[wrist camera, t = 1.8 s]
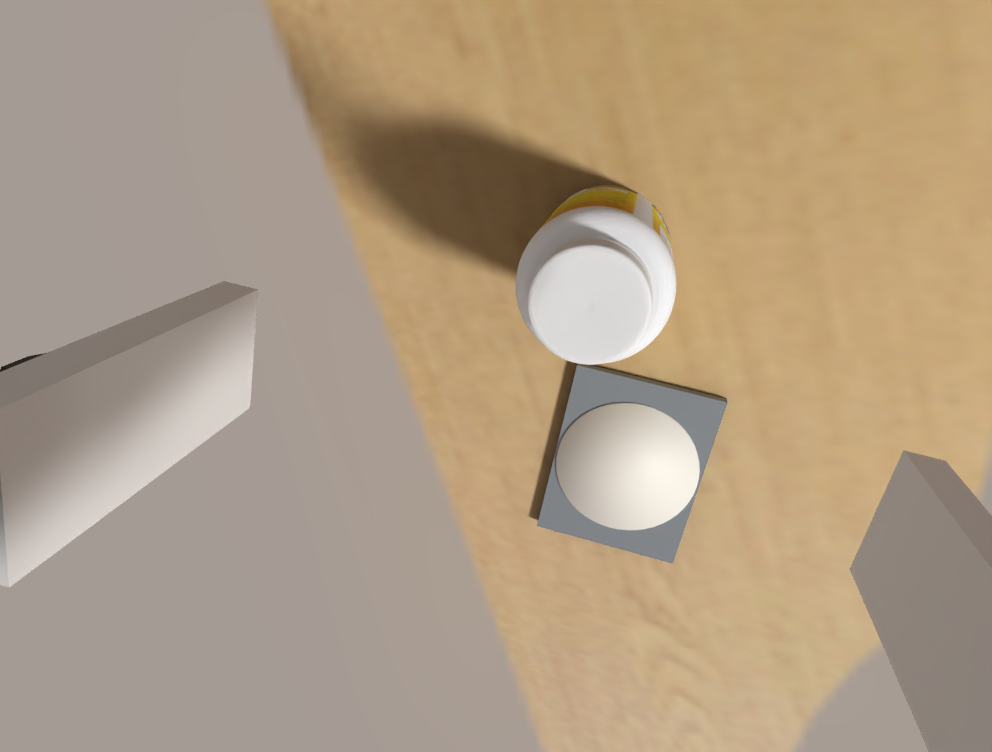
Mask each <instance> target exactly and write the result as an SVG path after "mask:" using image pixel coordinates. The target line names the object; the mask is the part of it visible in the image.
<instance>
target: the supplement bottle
mask: <svg viewBox="0 0 992 752" xmlns="http://www.w3.org/2000/svg"><path fill="white" fill-rule="evenodd" d="M675 294H676V273H675V267H674V260H673V253H672V247H671V241H670V237H669V232H668V229H667V226H666V224H665V221H664V219H663V217H662V216H661V214H660V213H659V211H658V210H657V209H656V207H655V206H654V205H653V204H652V203H651V202H650V201H649V200H648V199H646V198H645V197H644V196H642V195H641V194H639V193H637V192H635V191H633V190H630V189H628V188H624V187H620V186H613V185H600V186H593V187H590V188H587V189H584V190H581V191H579V192H577V193H575V194H574V195H572V196H570V197H569V198H568V199H566V200H565V201H564V202H563V203H562V204H561V205H560V206H559V207H558V208H557V209H556V210H555V211H554V212H553V214H552V215H551V216H550V217H549V218H548V219H547V220H546V222H545V223H544V224H543V225H542V226H541V227H540V229H539V230H538V231H537V232H536V233H535V235H534V236H533V237H532V239H531V240H530V242H529V243H528V245H527V246H526V248H525V250H524V252H523V254H522V257H521V259H520V262H519V266H518V269H517V275H516V297H517V302H518V306H519V310H520V312H521V315H522V318H523V320H524V322H525V323H526V325H527V327H528V328H529V330H530V331H531V333H532V334H533V335H534V336H535V337H536V338H537V339H538V340H539V341H540V342H541V343H542V344H543V345H544V346H545V347H546V348H548V349H549V350H550V351H551V352H552V353H554V354H555V355H557V356H559V357H561V358H563V359H565V360H567V361H570V362H574V363H578V364H586V365H596V364H603V363H610V362H615V361H619V360H622V359H625V358H627V357H630V356H631V355H633V354H635V353H637V352H639V351H640V350H642V349H643V348H645V347H646V346H647V345H648V344H650V343H651V342H652V341H653V340H654V339H655V338H656V337H657V335H658V334H659V333H660V332H661V330H662V329H663V327H664V326H665V324H666V322H667V320H668V318H669V316H670V314H671V311H672V308H673V305H674V300H675Z"/></svg>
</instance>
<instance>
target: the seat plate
mask: <svg viewBox="0 0 992 752" xmlns="http://www.w3.org/2000/svg"><path fill="white" fill-rule="evenodd" d="M726 405H727V399H726V398H722V397H718V396H714V395H710V394H706V393H702V392H698V391H694V390H690V389H686V388H682V387H678V386H674V385H670V384H666V383H662V382H658V381H654V380H650V379H646V378H642V377H638V376H634V375H630V374H626V373H622V372H618V371H613V370H609V369H605V368H601V367H597V366H593V365H586V364H577V367H576V371H575V375H574V379H573V383H572V387H571V391H570V395H569V399H568V403H567V408H566V412H565V416H564V420H563V424H562V428H561V432H560V436H559V440H558V444H557V448H556V452H555V456H554V460H553V464H552V468H551V472H550V476H549V480H548V484H547V488H546V492H545V496H544V500H543V504H542V508H541V512H540V516H539V520H538V524H537V526H539V527H543V528H546V529H550V530H554V531H557V532H561V533H564V534H568V535H572V536H575V537H579V538H583V539H586V540H590V541H593V542H597V543H601V544H604V545H608V546H612V547H615V548H619V549H622V550H626V551H630V552H633V553H637V554H640V555H644V556H648V557H651V558H655V559H659V560H662V561H666V562H669V563H673V561H674V558H675V555H676V552H677V549H678V546H679V543H680V540H681V537H682V534H683V531H684V528H685V525H686V522H687V520H688V517H689V514H690V511H691V508H692V505H693V502H694V499H695V496H696V493H697V490H698V487H699V484H700V481H701V478H702V476H703V473H704V470H705V467H706V464H707V461H708V458H709V455H710V452H711V449H712V446H713V443H714V440H715V437H716V434H717V432H718V429H719V426H720V423H721V420H722V417H723V414H724V411H725V408H726Z"/></svg>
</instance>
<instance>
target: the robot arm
mask: <svg viewBox="0 0 992 752" xmlns="http://www.w3.org/2000/svg"><path fill="white" fill-rule="evenodd" d="M257 296H258V289H253V288H249V287H245V286H241V285H237V284H233V283H229V282H225V281H223V282H221V283H219V284H216V285H214V286H211V287H209V288H206V289H204V290H201V291H199V292H196V293H194V294H191V295H189V296H186V297H184V298H182V299H179V300H177V301H174V302H172V303H169V304H167V305H164V306H162V307H159V308H157V309H154V310H152V311H149V312H147V313H145V314H142V315H140V316H137V317H135V318H132V319H130V320H127V321H125V322H122V323H120V324H117V325H115V326H112V327H110V328H108V329H105V330H103V331H100V332H98V333H95V334H93V335H90V336H88V337H85V338H83V339H80V340H78V341H76V342H73V343H70V344H68V345H66V346H63V347H61V348H58V349H56V350H53V351H51V352H48V353H44V354H39V355H34V356H28V357H26V358H23V359H21V360H18V361H15V362H13V363H10V364H8V365H5V366H3V367H1V370H0V585H3V586H6V587H10V586H12V585H13V584H14V583H15V582H17V581H18V580H20V579H21V578H22V577H24V576H25V575H26V574H28V573H29V572H30V571H32V570H33V569H34V568H36V567H37V566H39V565H40V564H41V563H43V562H44V561H45V560H46V559H48V558H49V557H51V556H52V555H53V554H55V553H56V552H57V551H59V550H60V549H61V548H63V547H64V546H65V545H67V544H68V543H69V542H70V541H72V540H73V539H74V538H76V537H77V536H79V535H80V534H81V533H83V532H84V531H85V530H87V529H88V528H89V527H91V526H92V525H93V524H95V523H96V522H97V521H99V520H100V519H101V518H103V517H104V516H105V515H107V514H108V513H109V512H111V511H112V510H114V509H115V508H116V507H117V506H119V505H120V504H122V503H123V502H124V501H126V500H127V499H128V498H129V497H131V496H132V495H134V494H135V493H136V492H137V491H139V490H140V489H142V488H143V487H144V486H146V485H147V484H148V483H150V482H151V481H152V480H154V479H155V478H156V477H158V476H159V475H160V474H162V473H163V472H164V471H165V470H167V469H168V468H170V467H171V466H172V465H174V464H175V463H176V462H178V461H179V460H180V459H182V458H183V457H184V456H186V455H187V454H188V453H190V452H191V451H192V450H194V449H195V448H196V447H198V446H199V445H201V444H202V443H203V442H205V441H206V440H207V439H208V438H210V437H211V436H213V435H214V434H215V433H217V432H218V431H219V430H221V429H222V428H223V427H225V426H226V425H227V424H229V423H230V422H231V421H233V420H234V419H235V418H237V417H238V416H239V415H241V414H242V413H243V412H245V411H246V410H247V409H249V408H250V399H251V384H252V370H253V355H254V340H255V326H256V311H257ZM850 571H851V573H852V575H853V578H854V580H855V582H856V585H857V587H858V589H859V591H860V594H861V596H862V598H863V601H864V603H865V605H866V608H867V610H868V612H869V615H870V617H871V619H872V621H873V624H874V626H875V628H876V631H877V633H878V635H879V638H880V640H881V642H882V645H883V647H884V649H885V651H886V654H887V656H888V658H889V661H890V663H891V665H892V668H893V670H894V672H895V674H896V677H897V679H898V681H899V684H900V686H901V688H902V691H903V693H904V695H905V698H906V700H907V702H908V704H909V707H910V709H911V711H912V714H913V716H914V718H915V720H916V723H917V725H918V728H919V730H920V732H921V735H922V737H923V739H924V741H925V744H926V746H927V748H928V751H929V752H992V516H991V514H990V513H989V512H988V511H987V510H986V509H985V507H984V506H983V505H982V504H981V503H980V501H979V500H978V499H977V498H976V497H975V495H974V494H973V493H972V492H971V491H970V489H969V488H968V487H967V486H966V485H965V483H964V482H963V481H962V480H961V479H960V478H959V476H958V475H957V474H956V473H955V472H954V470H953V469H952V468H951V467H950V466H949V464H948V463H947V462H946V461H944V460H940V459H936V458H932V457H928V456H924V455H920V454H916V453H912V452H908V451H903V453H902V455H901V457H900V459H899V462H898V464H897V466H896V468H895V470H894V473H893V475H892V477H891V479H890V481H889V484H888V486H887V488H886V490H885V493H884V495H883V497H882V499H881V501H880V504H879V506H878V508H877V510H876V512H875V515H874V517H873V519H872V521H871V523H870V526H869V528H868V530H867V532H866V535H865V537H864V539H863V541H862V543H861V546H860V548H859V550H858V552H857V554H856V557H855V559H854V561H853V563H852V566H851V568H850Z"/></svg>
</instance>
